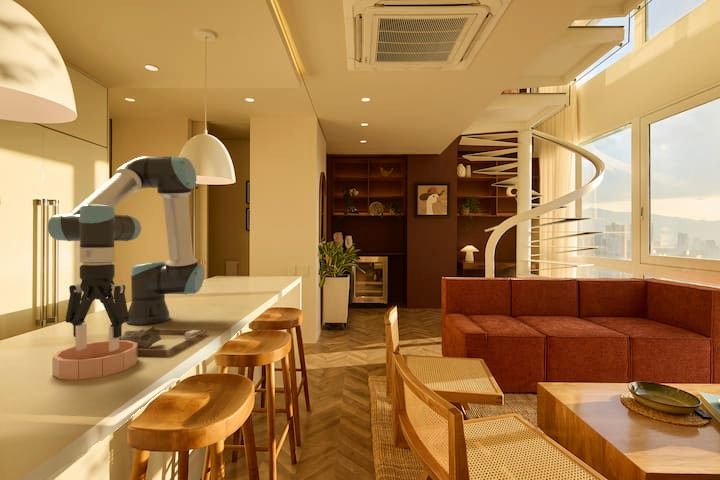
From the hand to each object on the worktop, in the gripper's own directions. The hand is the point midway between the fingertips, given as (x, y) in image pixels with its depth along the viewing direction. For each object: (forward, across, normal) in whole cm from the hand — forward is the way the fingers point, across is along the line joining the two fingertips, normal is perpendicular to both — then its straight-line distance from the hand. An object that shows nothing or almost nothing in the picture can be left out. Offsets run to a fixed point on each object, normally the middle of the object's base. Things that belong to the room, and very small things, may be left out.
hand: (97, 349), depth 98 cm
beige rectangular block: (+5, +10, +29) cm, 31 cm away
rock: (+4, -1, +19) cm, 19 cm away
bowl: (+5, 0, 0) cm, 5 cm away
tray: (+5, +3, +21) cm, 22 cm away
